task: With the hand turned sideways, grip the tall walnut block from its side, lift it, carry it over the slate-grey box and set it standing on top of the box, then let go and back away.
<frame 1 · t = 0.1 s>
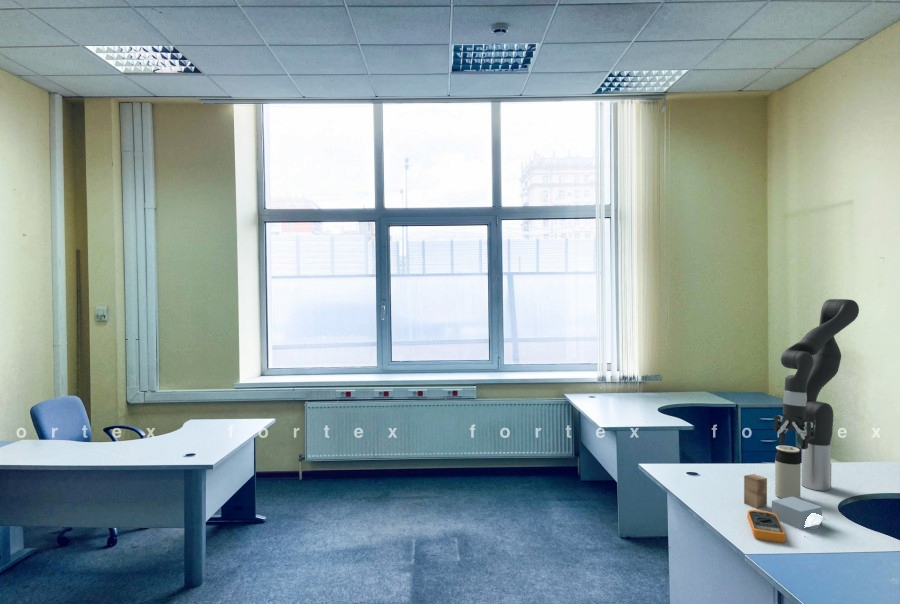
hand: (792, 446, 205), 17 cm above the table, fingers open, 8 cm apart
multimeter: (765, 531, 172), on the table
walnut block: (755, 505, 192), on the table
slate box: (796, 521, 178), on the table
travel mug: (787, 497, 200), on the table
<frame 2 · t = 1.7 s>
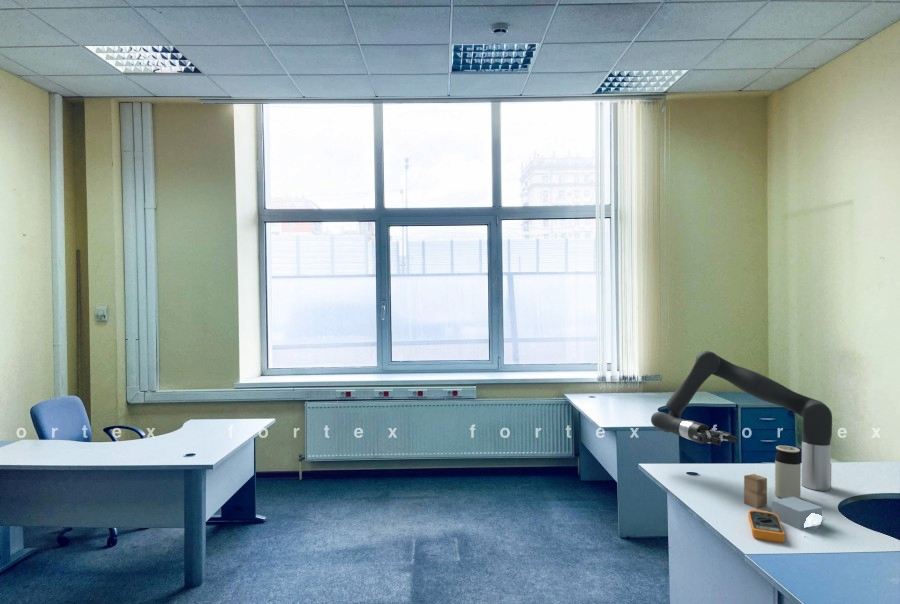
hand: (728, 441, 202), 20 cm above the table, fingers open, 8 cm apart
nothing on the table moved.
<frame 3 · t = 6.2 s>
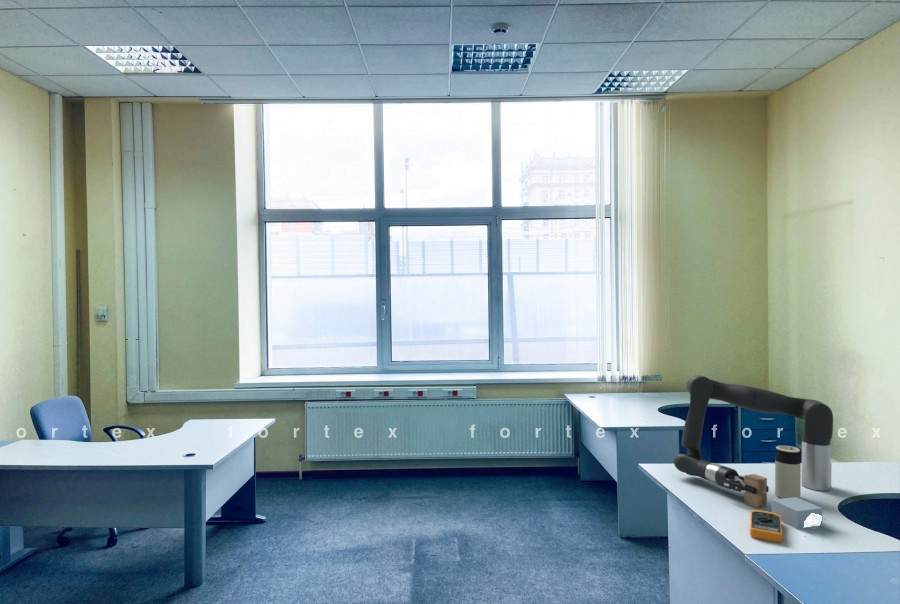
hand: (762, 490, 190), 6 cm above the table, fingers closed on walnut block, 5 cm apart
walnut block: (755, 504, 192), on the table, touching gripper
everything else where it was.
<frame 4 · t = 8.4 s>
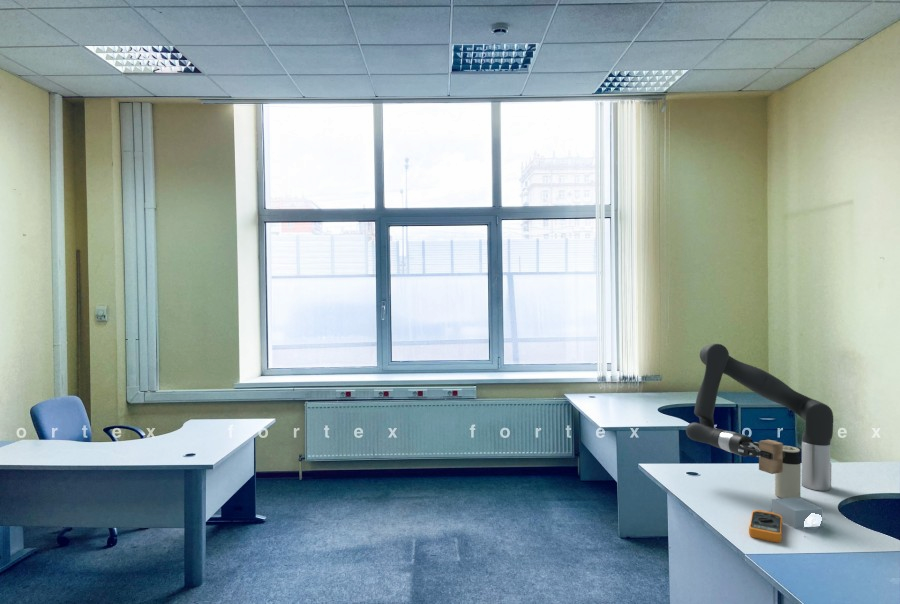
hand: (777, 455, 184), 20 cm above the table, fingers closed on walnut block, 5 cm apart
walnut block: (770, 471, 187), point 14 cm above the table, touching gripper
everything else where it was.
when the fingers open (13 cm above the table, at t = 10.9 s): walnut block drops 2 cm, resting on slate box.
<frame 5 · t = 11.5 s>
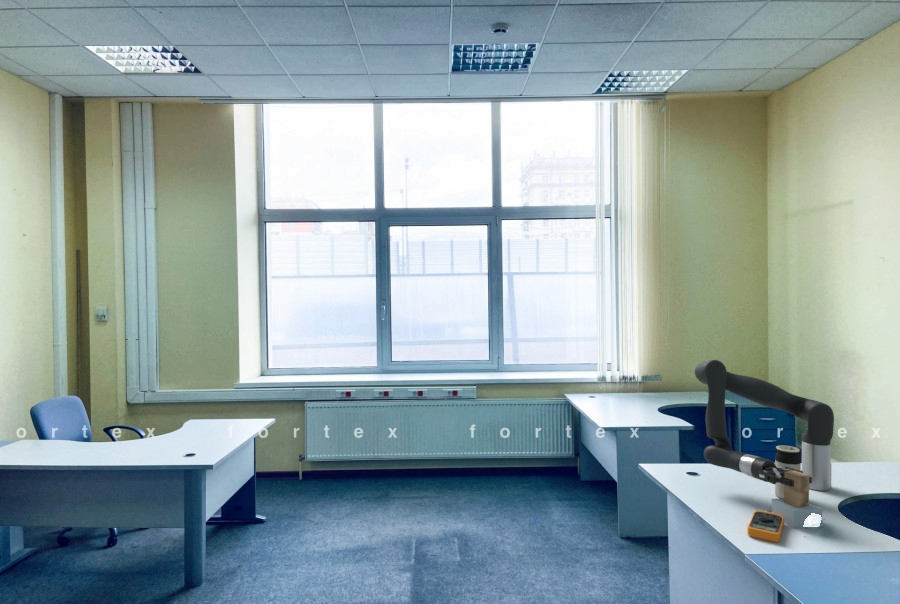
hand: (802, 482, 176), 14 cm above the table, fingers open, 8 cm apart
walnut block: (796, 503, 178), point 6 cm above the table, touching slate box
slate box: (796, 522, 178), on the table, touching walnut block
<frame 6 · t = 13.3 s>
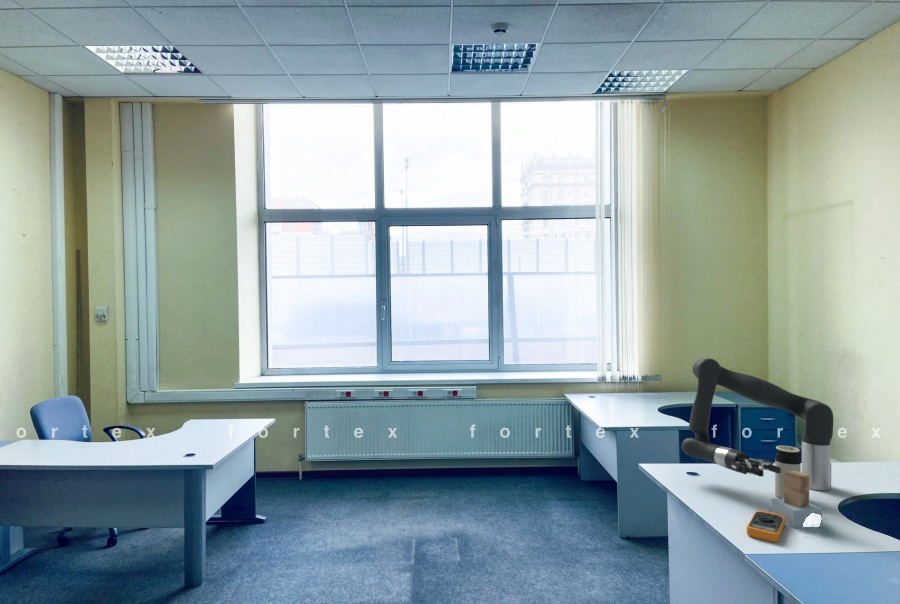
hand: (771, 472, 186), 13 cm above the table, fingers open, 8 cm apart
walnut block: (796, 503, 178), point 6 cm above the table
slate box: (796, 521, 178), on the table
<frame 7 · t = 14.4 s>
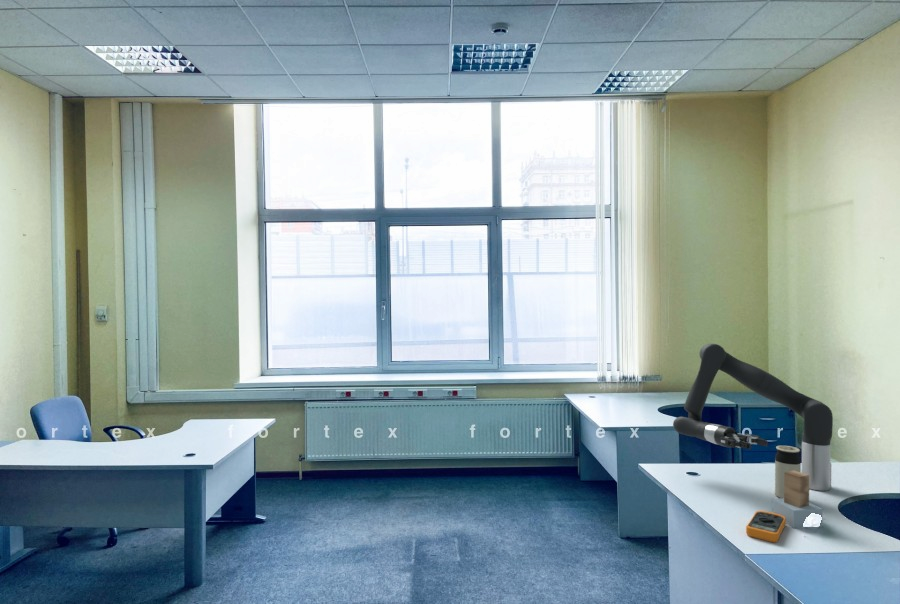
hand: (758, 445, 194), 21 cm above the table, fingers open, 8 cm apart
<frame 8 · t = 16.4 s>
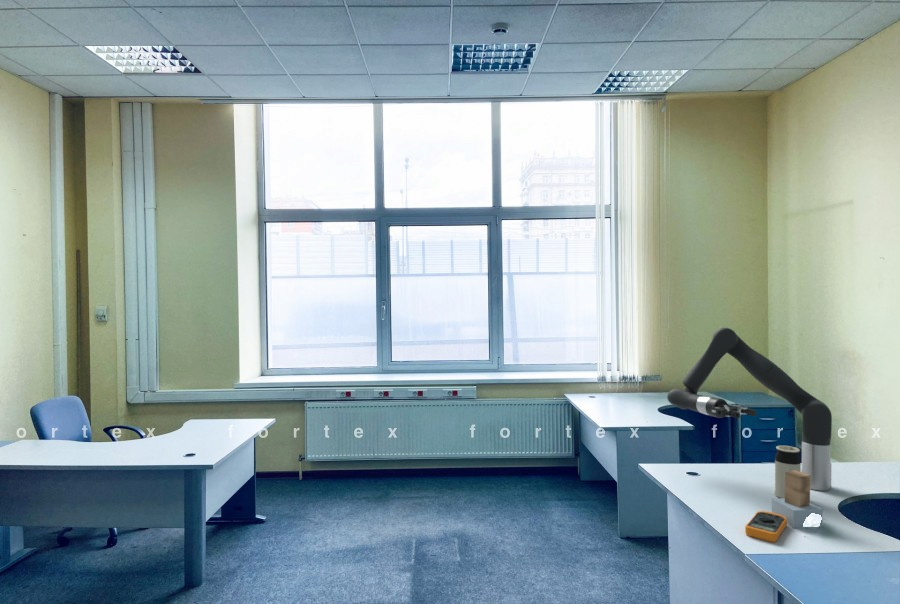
hand: (747, 414, 202), 30 cm above the table, fingers open, 8 cm apart
at the end: walnut block inside the target area on the slate box (0.2 cm from its centre), point 6.1 cm above the slate box's base; walnut block tilted 1°; the gripper is holding nothing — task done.
